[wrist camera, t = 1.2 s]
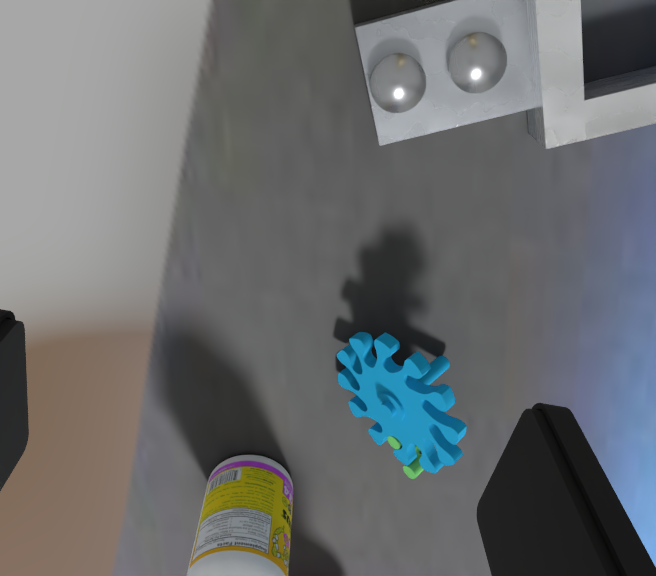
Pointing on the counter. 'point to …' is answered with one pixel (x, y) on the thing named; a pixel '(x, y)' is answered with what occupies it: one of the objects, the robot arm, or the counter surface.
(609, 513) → the robot arm
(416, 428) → the gear
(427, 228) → the counter surface
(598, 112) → the white studded link plate
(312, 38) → the counter surface
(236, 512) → the supplement bottle
